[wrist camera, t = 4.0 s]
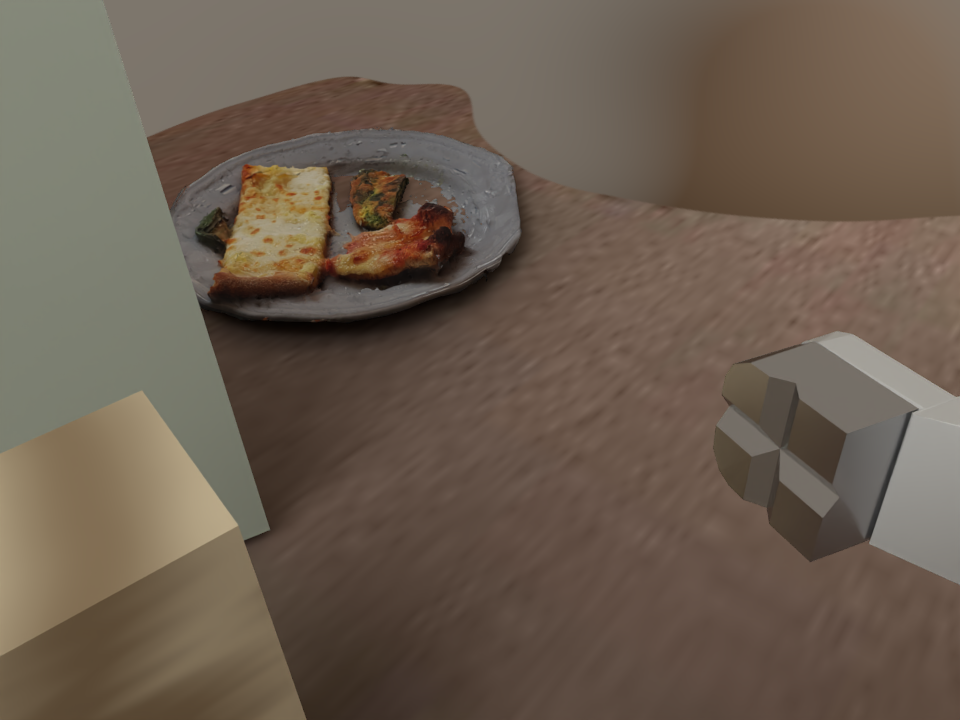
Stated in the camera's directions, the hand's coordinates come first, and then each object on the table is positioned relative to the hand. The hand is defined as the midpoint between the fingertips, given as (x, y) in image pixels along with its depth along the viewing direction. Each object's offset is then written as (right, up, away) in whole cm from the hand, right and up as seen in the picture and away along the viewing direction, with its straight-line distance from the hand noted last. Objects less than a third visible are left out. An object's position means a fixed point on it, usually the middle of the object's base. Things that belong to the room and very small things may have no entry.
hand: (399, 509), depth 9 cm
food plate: (-8, +10, +49) cm, 51 cm away
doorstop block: (-7, -14, +19) cm, 25 cm away
